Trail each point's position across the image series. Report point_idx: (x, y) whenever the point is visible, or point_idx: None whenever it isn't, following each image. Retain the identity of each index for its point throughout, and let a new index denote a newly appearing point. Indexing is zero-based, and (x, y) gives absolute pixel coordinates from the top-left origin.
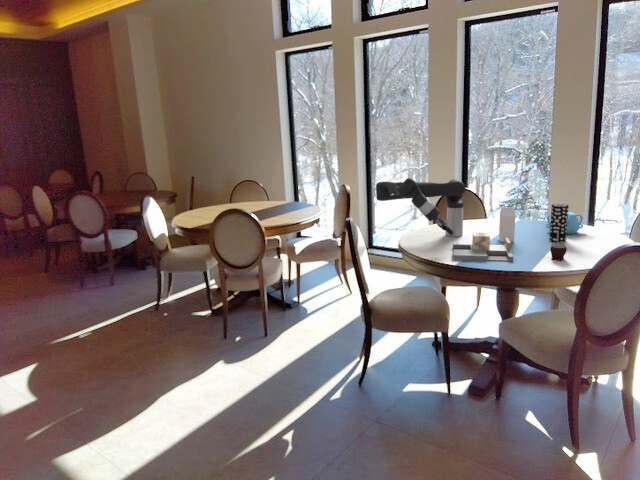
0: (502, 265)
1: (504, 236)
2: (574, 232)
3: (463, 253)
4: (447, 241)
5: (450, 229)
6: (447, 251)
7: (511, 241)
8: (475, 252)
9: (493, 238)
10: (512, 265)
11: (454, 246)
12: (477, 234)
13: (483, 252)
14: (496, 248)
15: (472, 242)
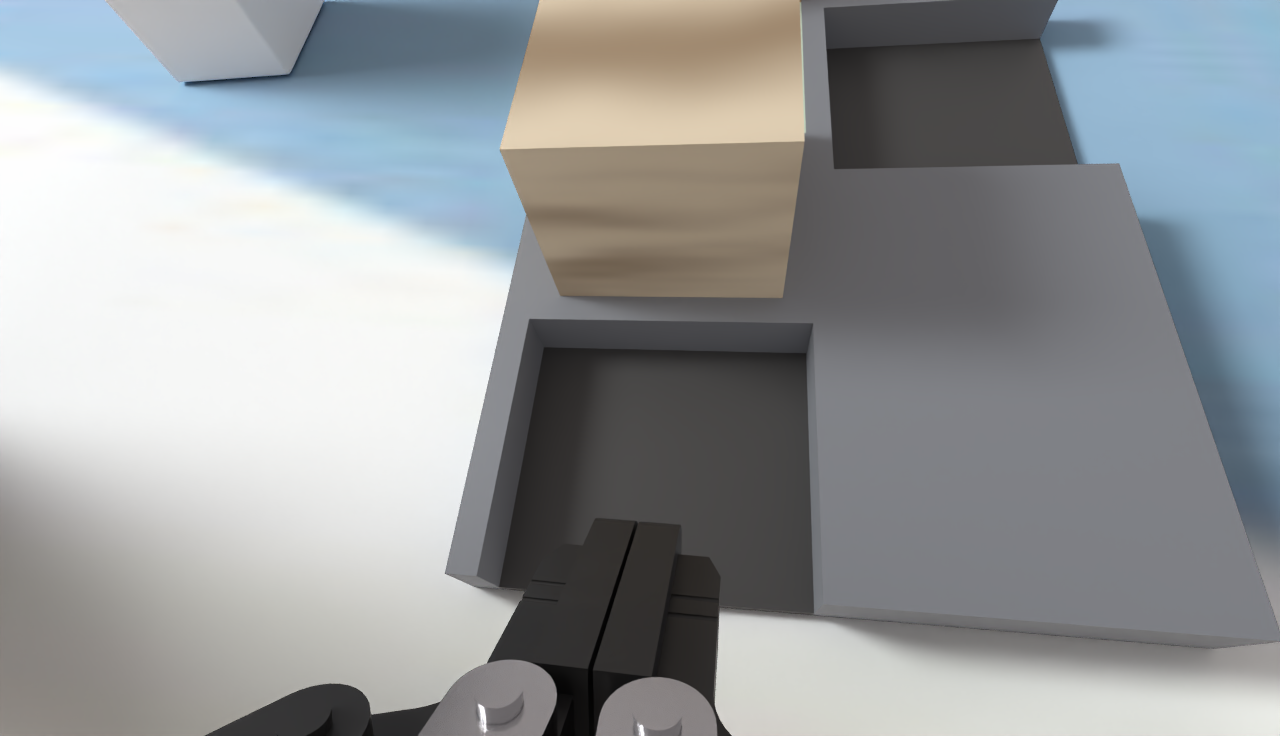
0: (1228, 93)
1: (267, 3)
2: None
3: (1081, 448)
4: (40, 629)
5: (668, 607)
6: None
7: (319, 9)
8: (963, 280)
9: (149, 121)
10: (1184, 26)
11: (494, 553)
12: (653, 89)
13: (938, 193)
14: None
15: (556, 268)
